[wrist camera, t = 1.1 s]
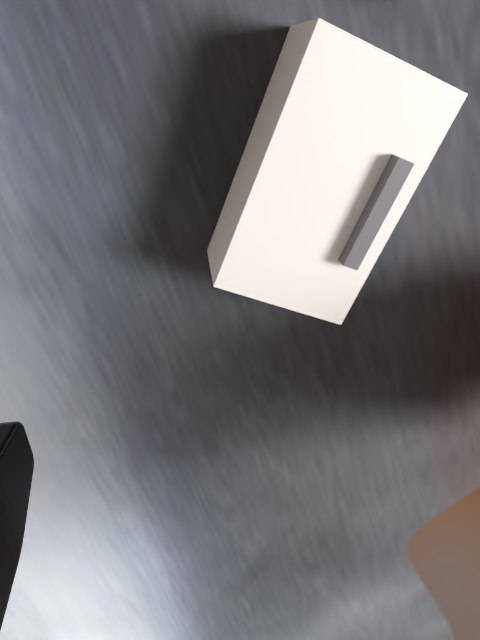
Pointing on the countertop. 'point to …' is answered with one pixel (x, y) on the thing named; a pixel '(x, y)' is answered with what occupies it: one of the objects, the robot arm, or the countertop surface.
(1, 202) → the countertop surface
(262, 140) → the door
